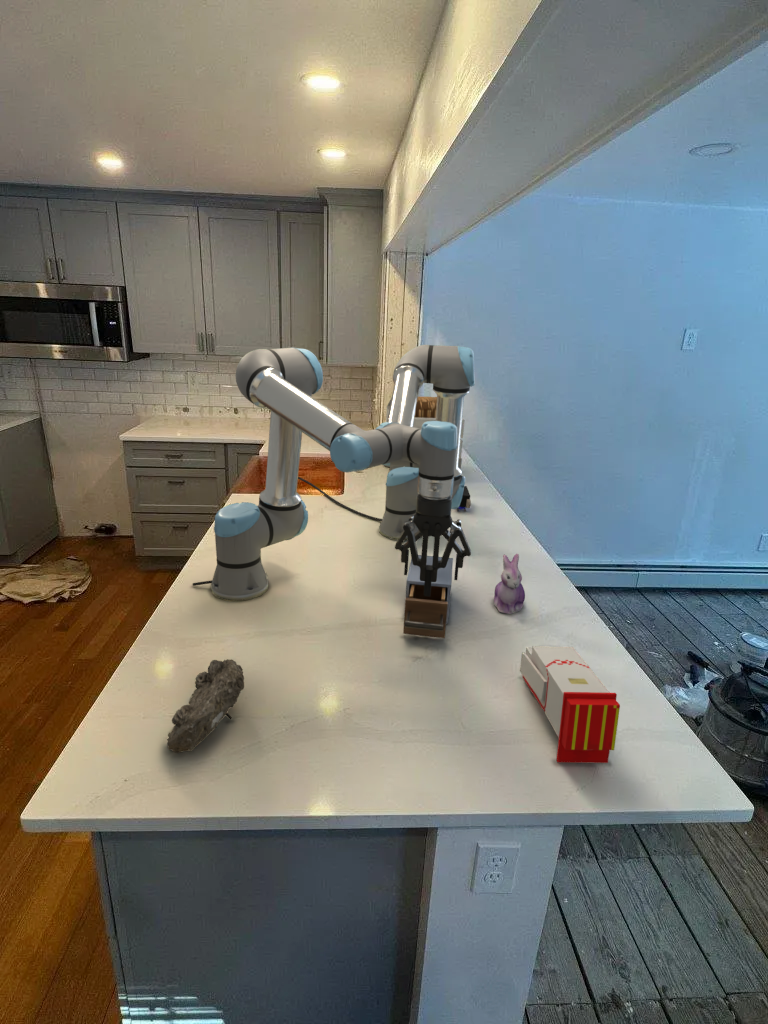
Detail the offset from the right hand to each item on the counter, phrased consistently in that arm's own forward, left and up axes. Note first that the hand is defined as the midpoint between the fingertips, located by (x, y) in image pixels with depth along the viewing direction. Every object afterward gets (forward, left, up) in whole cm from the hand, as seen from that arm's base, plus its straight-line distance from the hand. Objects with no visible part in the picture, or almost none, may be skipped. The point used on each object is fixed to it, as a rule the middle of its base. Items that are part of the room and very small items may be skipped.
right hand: (430, 575), depth 154 cm
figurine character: (-47, +64, -7) cm, 80 cm away
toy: (+49, -13, -7) cm, 51 cm away
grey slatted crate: (-93, +86, -7) cm, 127 cm away
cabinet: (+3, -3, -7) cm, 8 cm away
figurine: (+16, +14, -7) cm, 23 cm away
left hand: (+16, -18, +7) cm, 25 cm away
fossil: (+9, -67, -7) cm, 68 cm away
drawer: (+11, -12, -6) cm, 17 cm away
